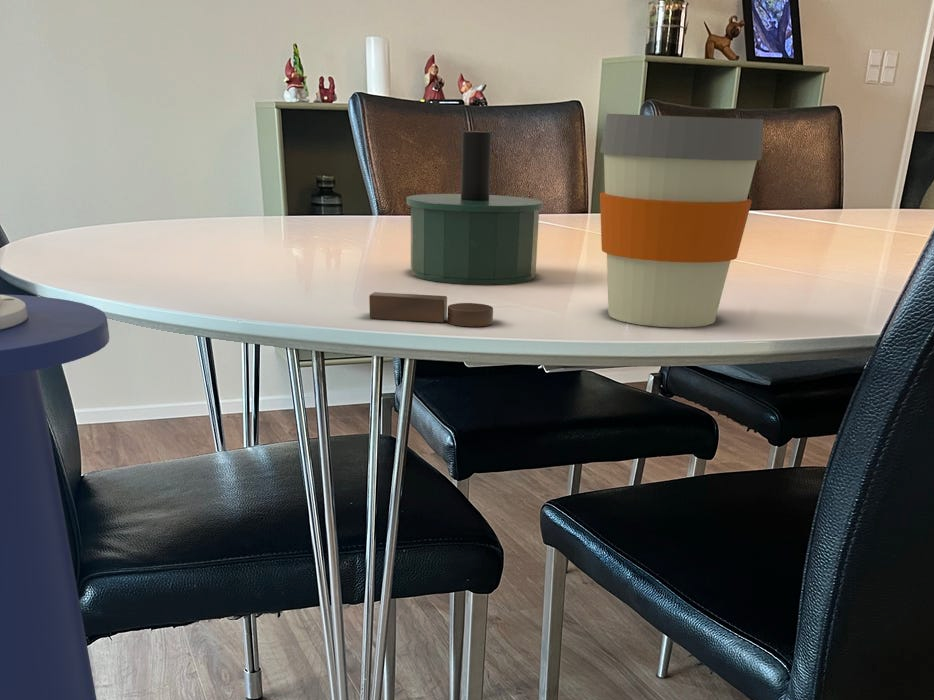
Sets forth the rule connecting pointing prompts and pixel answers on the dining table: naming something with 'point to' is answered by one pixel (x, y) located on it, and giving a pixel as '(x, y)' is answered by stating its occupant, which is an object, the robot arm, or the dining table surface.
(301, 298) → the dining table surface
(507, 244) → the tin
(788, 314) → the dining table surface
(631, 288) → the reusable coffee cup
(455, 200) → the lid
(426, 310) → the wooden bar and disc
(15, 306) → the robot arm
